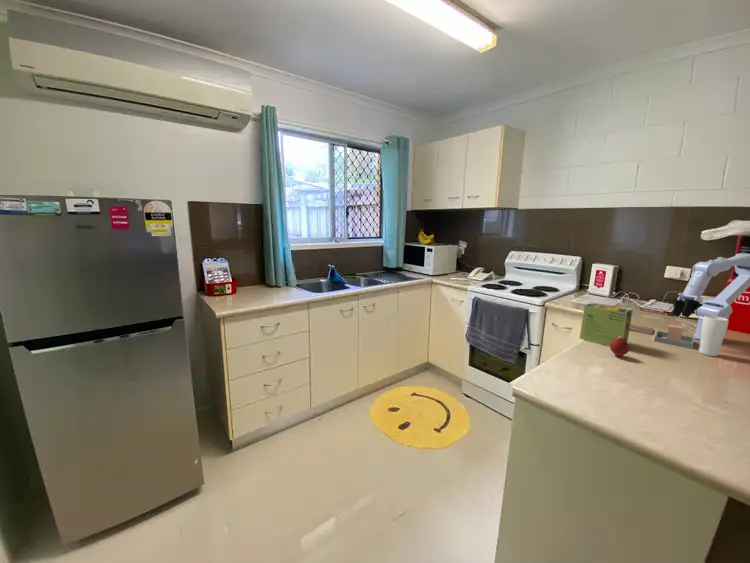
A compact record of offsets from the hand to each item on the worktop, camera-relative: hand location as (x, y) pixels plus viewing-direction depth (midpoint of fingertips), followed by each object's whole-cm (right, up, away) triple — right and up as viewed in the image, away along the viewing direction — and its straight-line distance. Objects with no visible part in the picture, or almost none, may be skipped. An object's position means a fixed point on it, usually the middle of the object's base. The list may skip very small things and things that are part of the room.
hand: (679, 316), depth 139 cm
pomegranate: (-40, -14, -17) cm, 46 cm away
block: (-2, -11, +1) cm, 12 cm away
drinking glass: (-1, -14, -13) cm, 19 cm away
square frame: (-2, -11, +1) cm, 12 cm away
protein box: (-34, -11, -1) cm, 36 cm away
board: (-5, -8, +16) cm, 19 cm away
